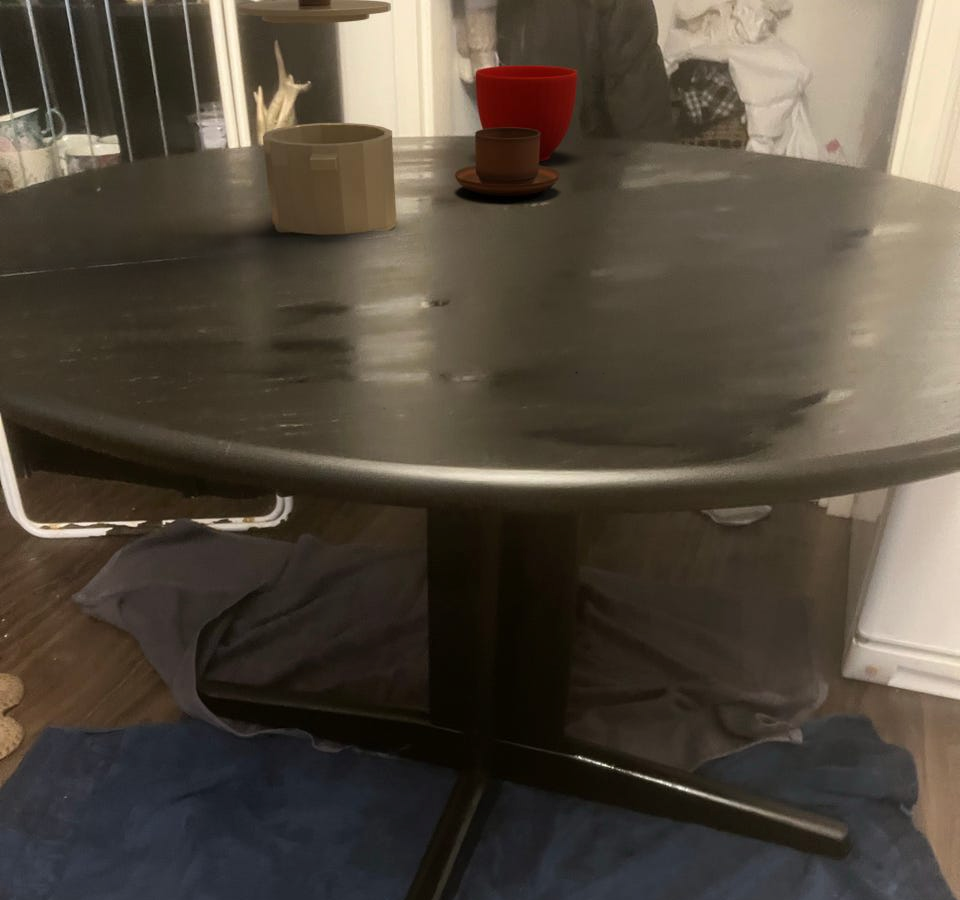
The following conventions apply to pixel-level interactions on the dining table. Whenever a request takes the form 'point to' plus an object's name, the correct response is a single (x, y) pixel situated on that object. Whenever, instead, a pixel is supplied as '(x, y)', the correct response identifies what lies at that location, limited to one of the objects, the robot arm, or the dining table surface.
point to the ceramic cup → (528, 100)
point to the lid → (314, 10)
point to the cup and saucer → (507, 163)
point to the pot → (331, 178)
